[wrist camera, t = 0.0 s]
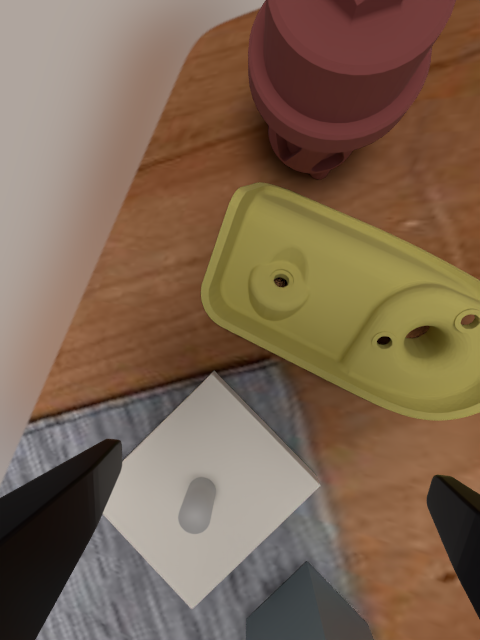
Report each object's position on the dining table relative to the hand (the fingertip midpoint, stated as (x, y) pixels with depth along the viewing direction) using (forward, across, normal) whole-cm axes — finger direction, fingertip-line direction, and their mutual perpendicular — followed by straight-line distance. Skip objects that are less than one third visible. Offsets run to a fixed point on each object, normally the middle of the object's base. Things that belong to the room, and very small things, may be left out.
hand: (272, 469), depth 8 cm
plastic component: (+17, -6, -2) cm, 18 cm away
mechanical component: (+20, -2, -15) cm, 25 cm away
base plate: (+13, +4, +13) cm, 18 cm away
